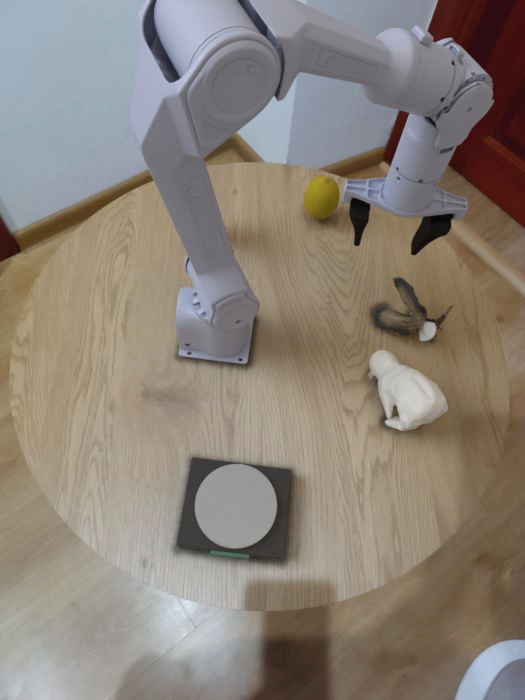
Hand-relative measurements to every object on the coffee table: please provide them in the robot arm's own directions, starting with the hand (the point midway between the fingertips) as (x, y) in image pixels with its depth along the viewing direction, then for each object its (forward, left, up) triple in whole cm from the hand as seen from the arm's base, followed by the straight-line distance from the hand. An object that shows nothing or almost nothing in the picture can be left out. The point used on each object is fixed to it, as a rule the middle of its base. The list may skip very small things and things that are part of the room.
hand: (385, 244), depth 68 cm
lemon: (-8, +13, -10) cm, 18 cm away
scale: (-15, -35, -10) cm, 39 cm away
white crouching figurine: (+4, -18, -10) cm, 21 cm away
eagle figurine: (+6, -6, -10) cm, 13 cm away
